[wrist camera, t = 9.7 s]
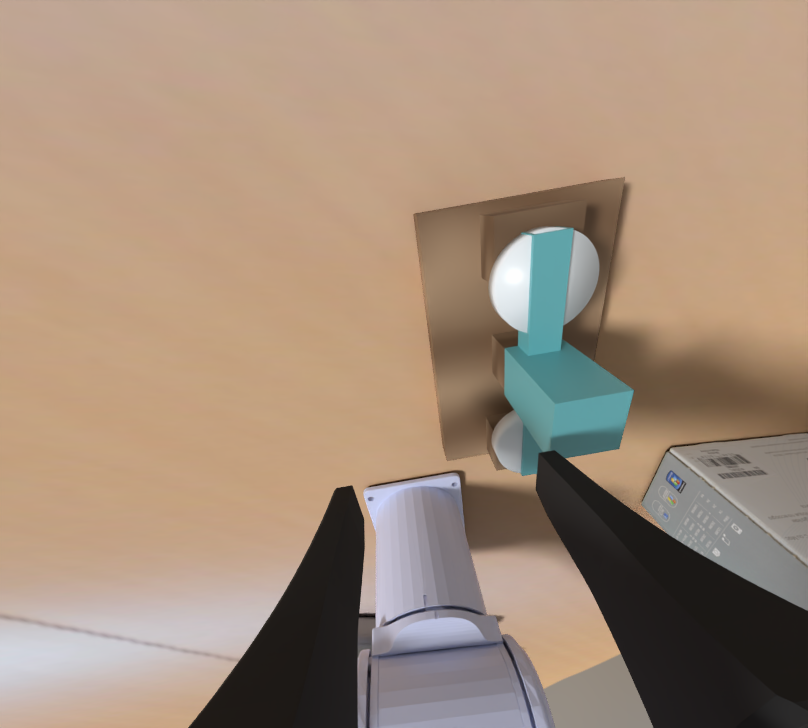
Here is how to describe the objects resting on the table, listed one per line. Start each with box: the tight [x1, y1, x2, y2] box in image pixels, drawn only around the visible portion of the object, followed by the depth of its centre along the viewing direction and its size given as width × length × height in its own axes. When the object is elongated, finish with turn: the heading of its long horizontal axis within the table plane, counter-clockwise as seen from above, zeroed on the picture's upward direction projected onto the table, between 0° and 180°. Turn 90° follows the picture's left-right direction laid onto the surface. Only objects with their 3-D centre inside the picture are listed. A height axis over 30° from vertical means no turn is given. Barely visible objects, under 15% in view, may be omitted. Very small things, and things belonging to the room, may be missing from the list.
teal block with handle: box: [488, 226, 634, 476], centre depth 14 cm, size 14×5×5 cm, turn 9°
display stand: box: [414, 177, 625, 470], centre depth 18 cm, size 16×10×4 cm, turn 9°
